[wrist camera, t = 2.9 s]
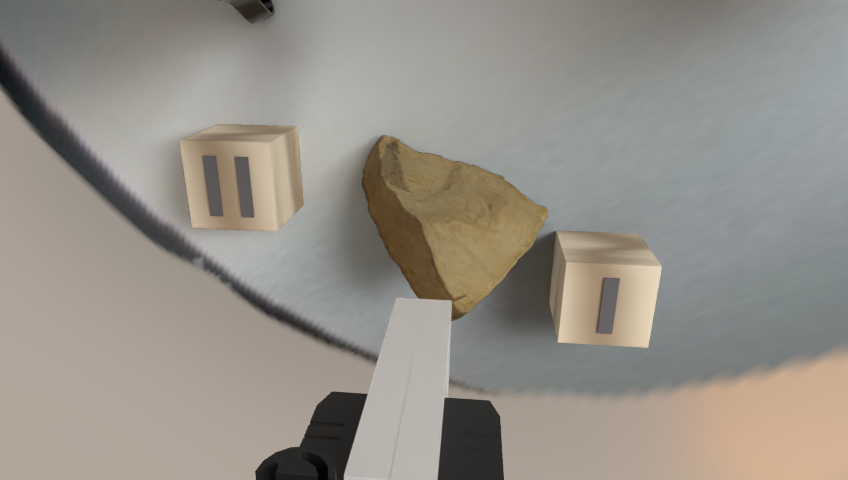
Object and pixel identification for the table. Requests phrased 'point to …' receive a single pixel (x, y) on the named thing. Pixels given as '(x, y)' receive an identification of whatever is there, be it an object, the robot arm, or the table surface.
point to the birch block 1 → (242, 176)
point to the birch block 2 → (603, 288)
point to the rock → (447, 222)
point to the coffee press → (253, 8)
